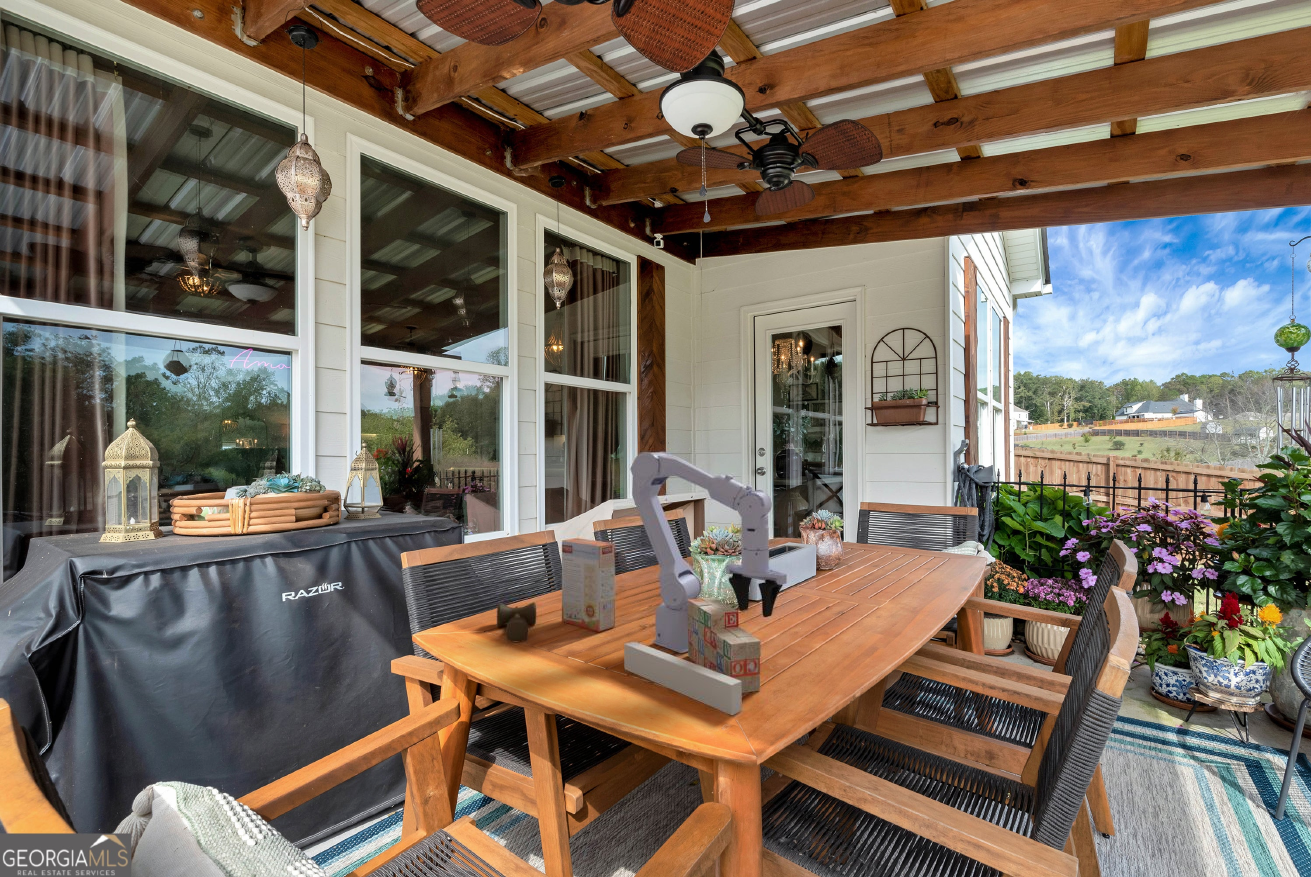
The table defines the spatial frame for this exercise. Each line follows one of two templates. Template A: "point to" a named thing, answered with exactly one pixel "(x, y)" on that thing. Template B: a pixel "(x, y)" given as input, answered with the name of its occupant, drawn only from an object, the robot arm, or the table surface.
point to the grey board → (684, 677)
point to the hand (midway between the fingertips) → (755, 612)
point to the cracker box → (588, 583)
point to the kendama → (516, 620)
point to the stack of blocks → (723, 642)
